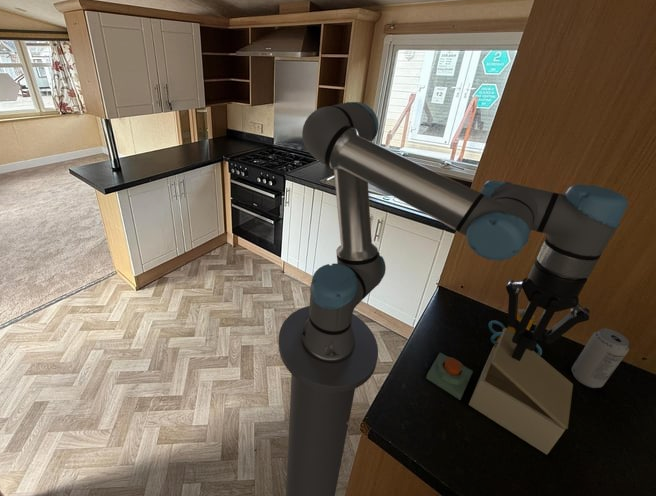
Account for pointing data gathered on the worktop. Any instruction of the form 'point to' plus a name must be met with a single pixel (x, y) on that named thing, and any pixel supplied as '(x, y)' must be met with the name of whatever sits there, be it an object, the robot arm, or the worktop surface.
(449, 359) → the button
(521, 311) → the cylinder
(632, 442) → the worktop surface
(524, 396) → the beige square box
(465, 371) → the control block
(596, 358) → the energy drink can
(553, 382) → the beige board
